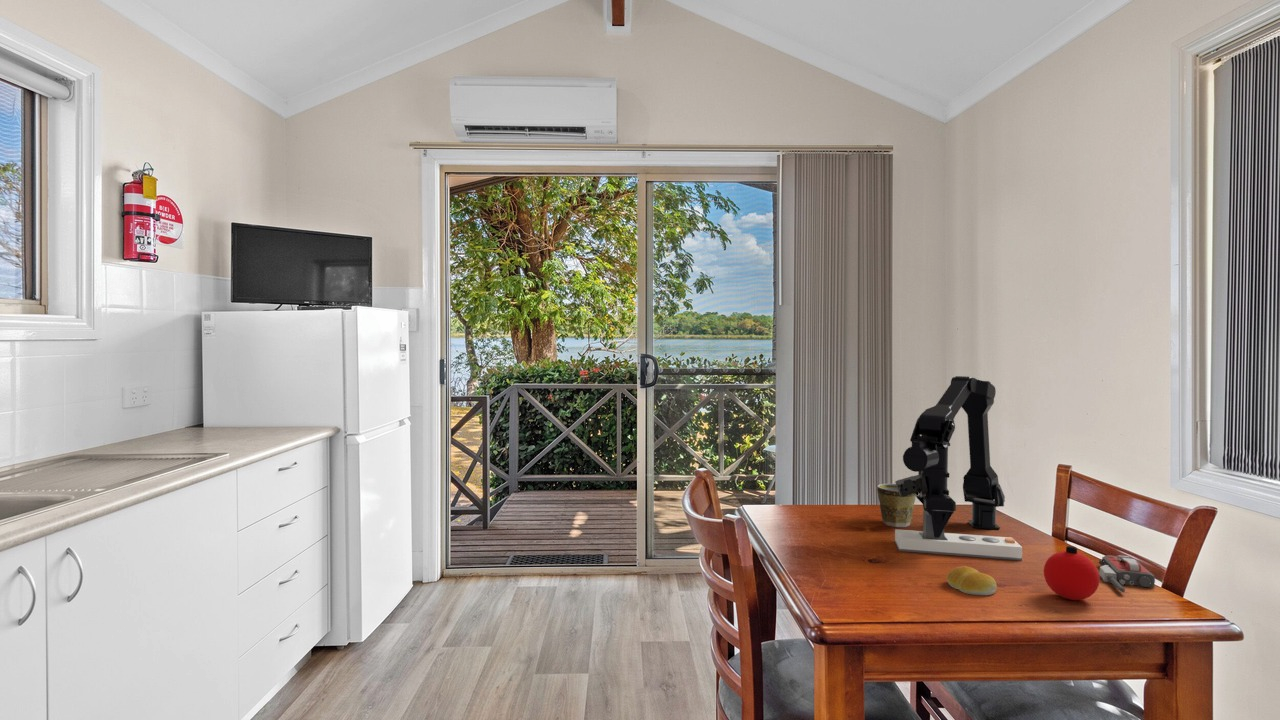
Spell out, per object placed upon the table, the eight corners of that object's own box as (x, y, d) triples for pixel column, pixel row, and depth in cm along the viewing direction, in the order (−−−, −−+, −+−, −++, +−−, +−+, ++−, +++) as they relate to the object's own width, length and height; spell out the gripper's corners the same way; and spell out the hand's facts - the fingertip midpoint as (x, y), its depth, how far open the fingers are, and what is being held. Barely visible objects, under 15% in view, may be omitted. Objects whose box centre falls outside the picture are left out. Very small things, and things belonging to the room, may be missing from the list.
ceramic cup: (922, 529, 177) (922, 491, 176) (884, 528, 177) (884, 491, 177) (903, 516, 190) (904, 481, 189) (868, 516, 190) (868, 481, 190)
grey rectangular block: (922, 543, 162) (923, 510, 162) (940, 545, 161) (941, 511, 161) (925, 548, 158) (926, 514, 158) (943, 549, 157) (944, 515, 157)
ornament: (1108, 609, 123) (1109, 555, 123) (1055, 605, 125) (1056, 552, 124) (1085, 591, 132) (1086, 541, 132) (1035, 588, 134) (1036, 538, 133)
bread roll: (975, 599, 128) (975, 578, 128) (939, 583, 136) (939, 564, 136) (1007, 594, 131) (1008, 574, 131) (970, 579, 139) (970, 560, 139)
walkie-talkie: (1088, 565, 149) (1115, 596, 130) (1088, 545, 149) (1116, 574, 130) (1135, 570, 146) (1170, 603, 127) (1135, 550, 146) (1171, 580, 127)
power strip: (895, 541, 165) (895, 526, 165) (1011, 550, 159) (1012, 535, 159) (899, 550, 157) (899, 535, 157) (1022, 560, 151) (1022, 544, 151)
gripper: (893, 458, 170) (892, 519, 170) (903, 471, 152) (902, 540, 152) (941, 460, 167) (939, 523, 168) (956, 474, 149) (955, 544, 150)
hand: (933, 532), depth 159 cm, fingers open, 9 cm apart
